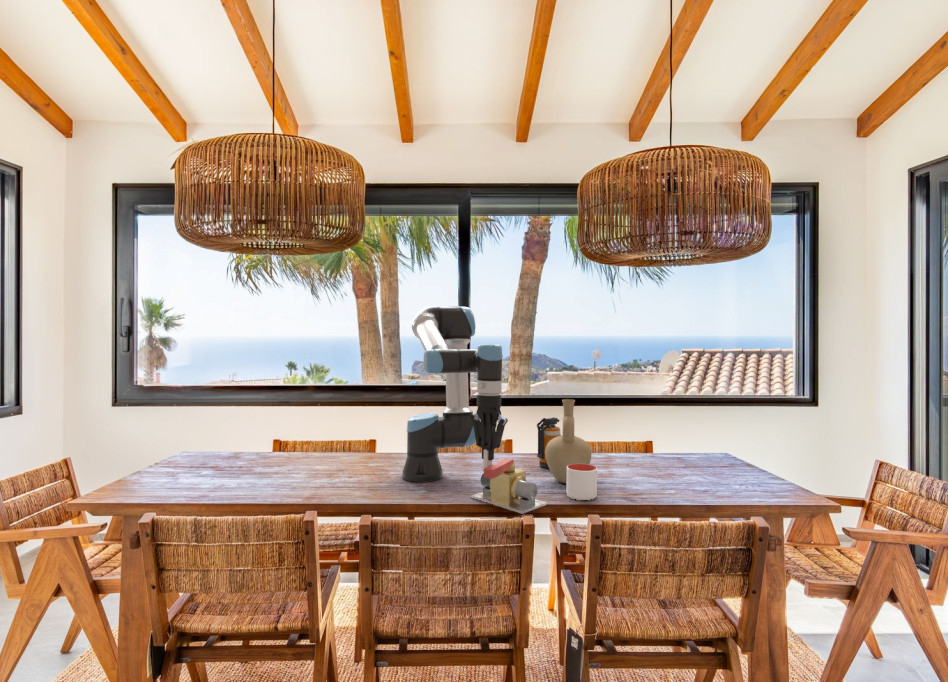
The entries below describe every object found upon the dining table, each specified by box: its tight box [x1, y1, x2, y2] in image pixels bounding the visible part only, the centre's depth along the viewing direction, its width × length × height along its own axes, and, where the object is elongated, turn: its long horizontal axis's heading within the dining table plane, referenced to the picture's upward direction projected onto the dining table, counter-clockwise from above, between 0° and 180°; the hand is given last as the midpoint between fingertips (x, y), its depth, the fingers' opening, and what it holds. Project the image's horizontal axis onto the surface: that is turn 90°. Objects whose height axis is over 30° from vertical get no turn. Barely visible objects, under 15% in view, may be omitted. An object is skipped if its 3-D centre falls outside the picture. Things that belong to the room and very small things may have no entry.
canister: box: [536, 416, 563, 469], centre depth 222 cm, size 9×11×20 cm
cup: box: [565, 464, 598, 501], centre depth 183 cm, size 10×10×10 cm
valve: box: [470, 467, 548, 515], centre depth 178 cm, size 22×12×10 cm, turn 45°
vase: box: [545, 398, 592, 484], centre depth 201 cm, size 17×17×30 cm
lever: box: [483, 458, 516, 479], centre depth 172 cm, size 17×4×4 cm, turn 152°
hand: (487, 470), depth 170 cm, fingers closed
